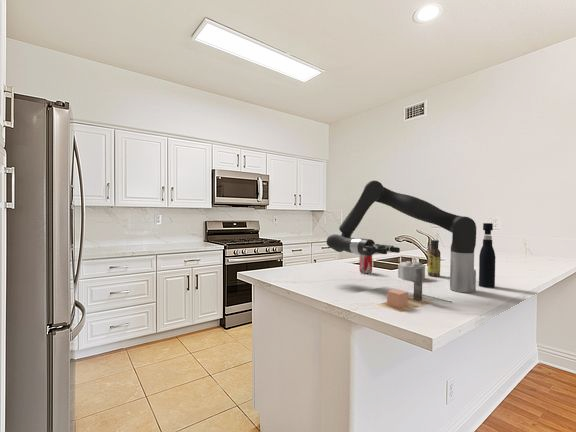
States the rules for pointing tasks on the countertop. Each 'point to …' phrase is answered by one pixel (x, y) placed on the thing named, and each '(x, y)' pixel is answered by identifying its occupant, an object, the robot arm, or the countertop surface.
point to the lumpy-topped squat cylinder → (409, 270)
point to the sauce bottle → (434, 259)
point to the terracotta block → (397, 298)
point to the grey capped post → (417, 298)
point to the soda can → (365, 264)
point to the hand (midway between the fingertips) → (393, 251)
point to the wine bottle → (487, 259)
